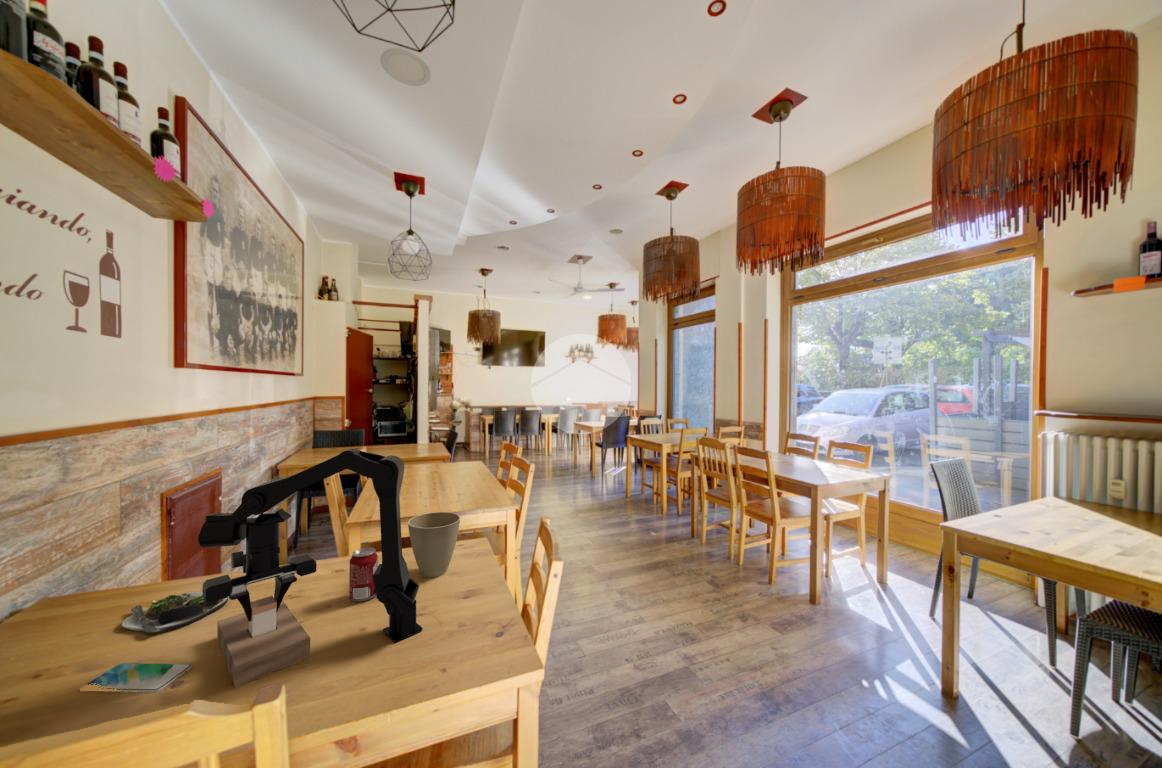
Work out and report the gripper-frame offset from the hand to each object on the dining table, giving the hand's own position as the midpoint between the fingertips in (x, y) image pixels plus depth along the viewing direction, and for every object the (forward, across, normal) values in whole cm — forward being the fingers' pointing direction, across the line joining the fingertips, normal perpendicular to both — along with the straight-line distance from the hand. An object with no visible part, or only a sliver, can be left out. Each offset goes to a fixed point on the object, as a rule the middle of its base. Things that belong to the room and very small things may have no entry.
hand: (262, 616), depth 89 cm
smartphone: (+7, +18, -6) cm, 20 cm away
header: (+7, 0, 0) cm, 7 cm away
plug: (+5, 0, 0) cm, 5 cm away
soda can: (+7, -23, -7) cm, 25 cm away
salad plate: (+7, +11, -31) cm, 34 cm away
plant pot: (+7, -43, -7) cm, 44 cm away
